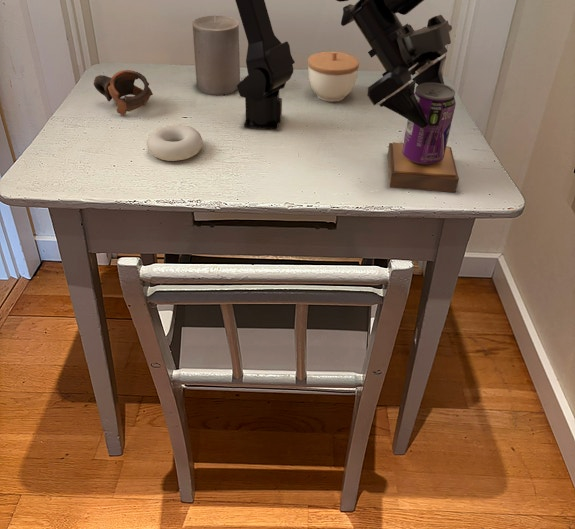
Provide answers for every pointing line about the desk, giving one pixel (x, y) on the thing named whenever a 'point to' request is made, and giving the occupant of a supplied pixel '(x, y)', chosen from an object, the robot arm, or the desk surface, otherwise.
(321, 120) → the desk surface
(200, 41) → the pillar candle
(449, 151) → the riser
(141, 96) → the pottery mug
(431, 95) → the beverage can
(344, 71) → the trinket box
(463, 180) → the desk surface
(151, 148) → the donut
